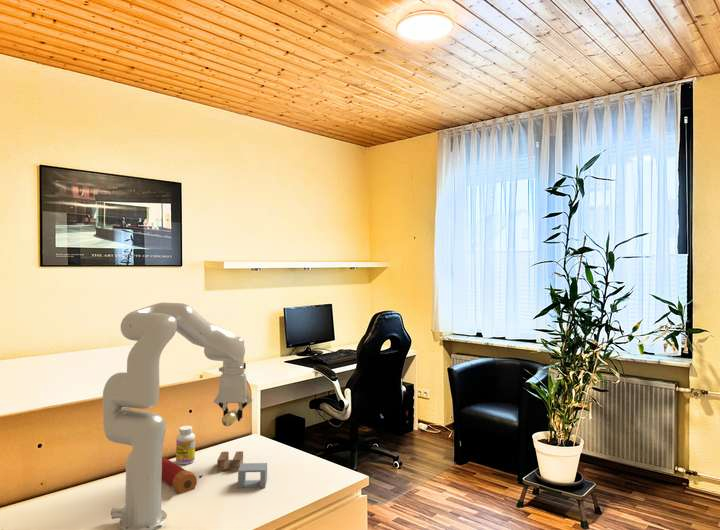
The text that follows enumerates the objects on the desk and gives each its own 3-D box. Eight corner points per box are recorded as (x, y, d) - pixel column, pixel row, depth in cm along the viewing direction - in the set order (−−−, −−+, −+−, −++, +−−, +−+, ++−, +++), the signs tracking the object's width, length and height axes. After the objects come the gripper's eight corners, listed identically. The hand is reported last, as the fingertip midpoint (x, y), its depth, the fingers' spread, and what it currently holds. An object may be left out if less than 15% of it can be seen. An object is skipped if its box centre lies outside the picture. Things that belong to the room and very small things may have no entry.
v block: (217, 474, 179) (217, 460, 179) (221, 465, 187) (221, 451, 187) (239, 473, 180) (239, 459, 180) (243, 464, 188) (243, 451, 188)
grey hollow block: (265, 490, 167) (265, 470, 167) (237, 491, 166) (238, 470, 166) (267, 482, 173) (267, 462, 173) (240, 483, 172) (241, 463, 172)
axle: (233, 426, 177) (233, 414, 177) (221, 426, 176) (222, 414, 177) (239, 419, 191) (240, 408, 191) (228, 419, 190) (229, 408, 191)
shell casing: (177, 499, 161) (177, 476, 161) (151, 479, 175) (151, 458, 175) (197, 492, 166) (197, 470, 166) (171, 473, 180) (171, 453, 180)
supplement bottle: (172, 464, 188) (172, 429, 188) (183, 457, 194) (183, 424, 194) (187, 466, 186) (188, 431, 186) (198, 459, 192) (198, 425, 192)
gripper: (208, 373, 183) (207, 423, 183) (255, 372, 184) (254, 423, 184) (212, 368, 191) (212, 417, 191) (257, 368, 192) (257, 416, 192)
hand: (232, 419), depth 188 cm, fingers closed on axle, 4 cm apart
